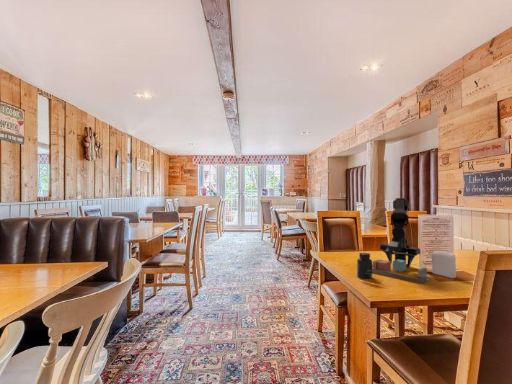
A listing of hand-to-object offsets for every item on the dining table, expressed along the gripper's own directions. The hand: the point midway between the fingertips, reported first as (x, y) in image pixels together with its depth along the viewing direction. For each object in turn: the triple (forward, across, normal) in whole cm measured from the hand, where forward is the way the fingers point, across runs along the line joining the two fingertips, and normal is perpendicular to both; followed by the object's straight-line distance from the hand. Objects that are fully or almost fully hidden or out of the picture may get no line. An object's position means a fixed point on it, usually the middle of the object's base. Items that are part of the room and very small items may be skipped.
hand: (399, 265), depth 149 cm
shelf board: (+3, +5, -11) cm, 12 cm away
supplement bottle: (+3, -5, -26) cm, 26 cm away
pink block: (+2, -3, -11) cm, 11 cm away
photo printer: (+3, +18, +7) cm, 20 cm away
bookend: (+2, +15, -11) cm, 19 cm away
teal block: (+3, 0, 0) cm, 3 cm away
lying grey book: (+4, -12, -1) cm, 13 cm away
